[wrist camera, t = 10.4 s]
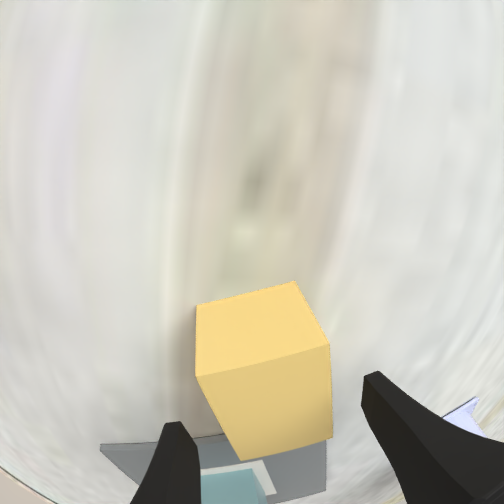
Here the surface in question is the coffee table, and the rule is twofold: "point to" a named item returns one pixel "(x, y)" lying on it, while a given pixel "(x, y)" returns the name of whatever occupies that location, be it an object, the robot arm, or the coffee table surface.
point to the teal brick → (232, 488)
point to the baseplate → (238, 465)
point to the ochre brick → (265, 370)
